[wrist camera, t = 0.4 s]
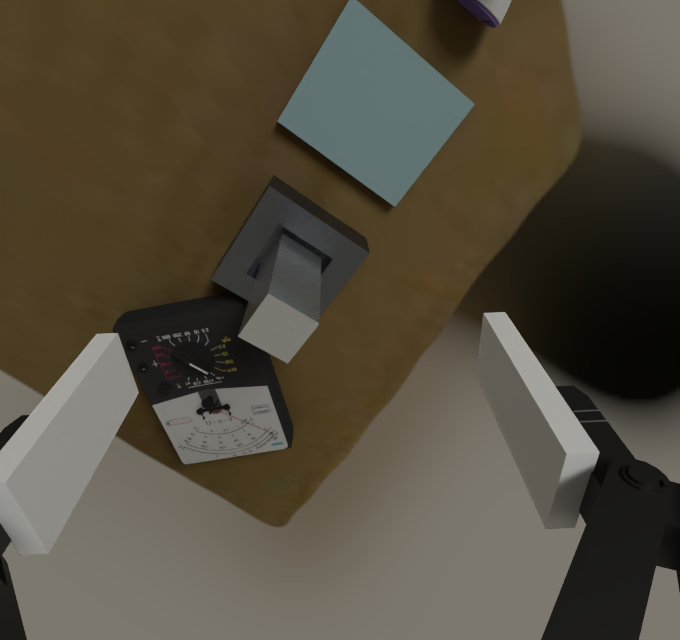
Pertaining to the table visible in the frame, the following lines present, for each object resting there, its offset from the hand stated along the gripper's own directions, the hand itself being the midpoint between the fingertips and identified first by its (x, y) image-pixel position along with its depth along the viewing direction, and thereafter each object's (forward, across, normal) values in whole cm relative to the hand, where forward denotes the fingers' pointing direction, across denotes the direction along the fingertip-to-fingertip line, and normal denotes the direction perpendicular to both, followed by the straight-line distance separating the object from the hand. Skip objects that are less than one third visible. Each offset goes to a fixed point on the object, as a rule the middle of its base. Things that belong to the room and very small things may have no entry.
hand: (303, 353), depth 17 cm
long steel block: (+26, -3, -6) cm, 26 cm away
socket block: (+26, -3, -6) cm, 27 cm away
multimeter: (+27, -13, -20) cm, 36 cm away
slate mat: (+26, +5, +5) cm, 27 cm away
